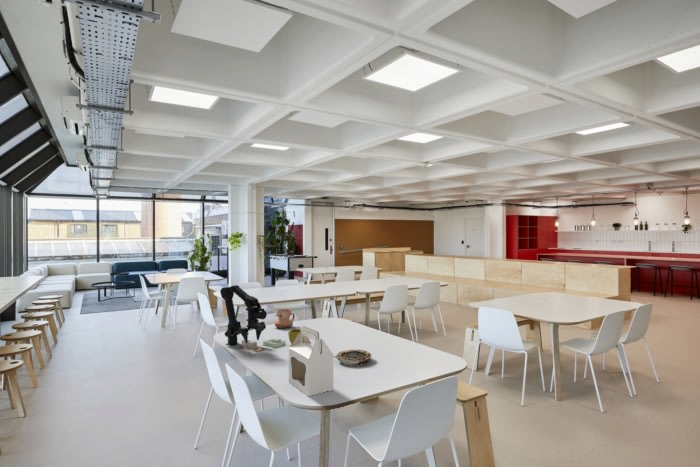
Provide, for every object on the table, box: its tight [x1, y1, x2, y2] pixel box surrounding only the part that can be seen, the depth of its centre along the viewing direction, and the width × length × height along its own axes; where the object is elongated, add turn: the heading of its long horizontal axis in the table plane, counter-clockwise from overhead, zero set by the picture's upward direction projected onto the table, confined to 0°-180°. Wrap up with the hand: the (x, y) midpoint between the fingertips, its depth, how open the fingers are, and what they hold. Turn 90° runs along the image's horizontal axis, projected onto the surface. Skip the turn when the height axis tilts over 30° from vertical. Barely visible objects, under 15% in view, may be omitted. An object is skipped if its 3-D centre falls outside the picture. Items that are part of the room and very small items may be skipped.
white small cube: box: [248, 340, 258, 349], centre depth 256 cm, size 4×4×4 cm
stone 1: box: [241, 339, 251, 348], centre depth 260 cm, size 4×4×4 cm
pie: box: [333, 349, 373, 367], centre depth 230 cm, size 28×27×5 cm
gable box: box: [288, 325, 334, 397], centre depth 191 cm, size 22×13×28 cm, turn 34°
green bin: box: [262, 338, 286, 349], centre depth 264 cm, size 12×10×3 cm
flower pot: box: [288, 328, 301, 345], centre depth 268 cm, size 9×9×9 cm
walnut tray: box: [237, 344, 268, 353], centre depth 256 cm, size 20×8×1 cm, turn 53°
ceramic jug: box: [273, 308, 295, 329], centre depth 317 cm, size 18×14×14 cm
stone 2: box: [272, 337, 282, 343], centre depth 262 cm, size 4×4×4 cm
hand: (252, 341), depth 256 cm, fingers open, 9 cm apart
